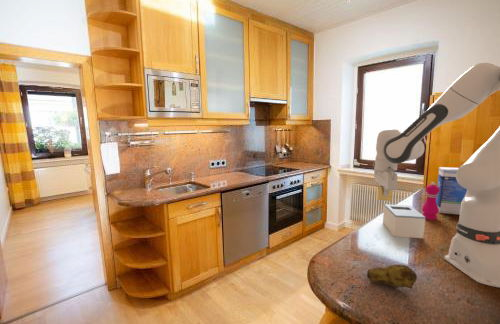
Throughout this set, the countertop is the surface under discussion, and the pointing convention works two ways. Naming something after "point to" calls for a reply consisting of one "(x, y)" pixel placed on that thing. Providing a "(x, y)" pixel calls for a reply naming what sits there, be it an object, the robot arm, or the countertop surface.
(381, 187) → the block
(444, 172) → the string lights box
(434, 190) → the pepper mill
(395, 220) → the coin box
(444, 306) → the countertop surface
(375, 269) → the potato
